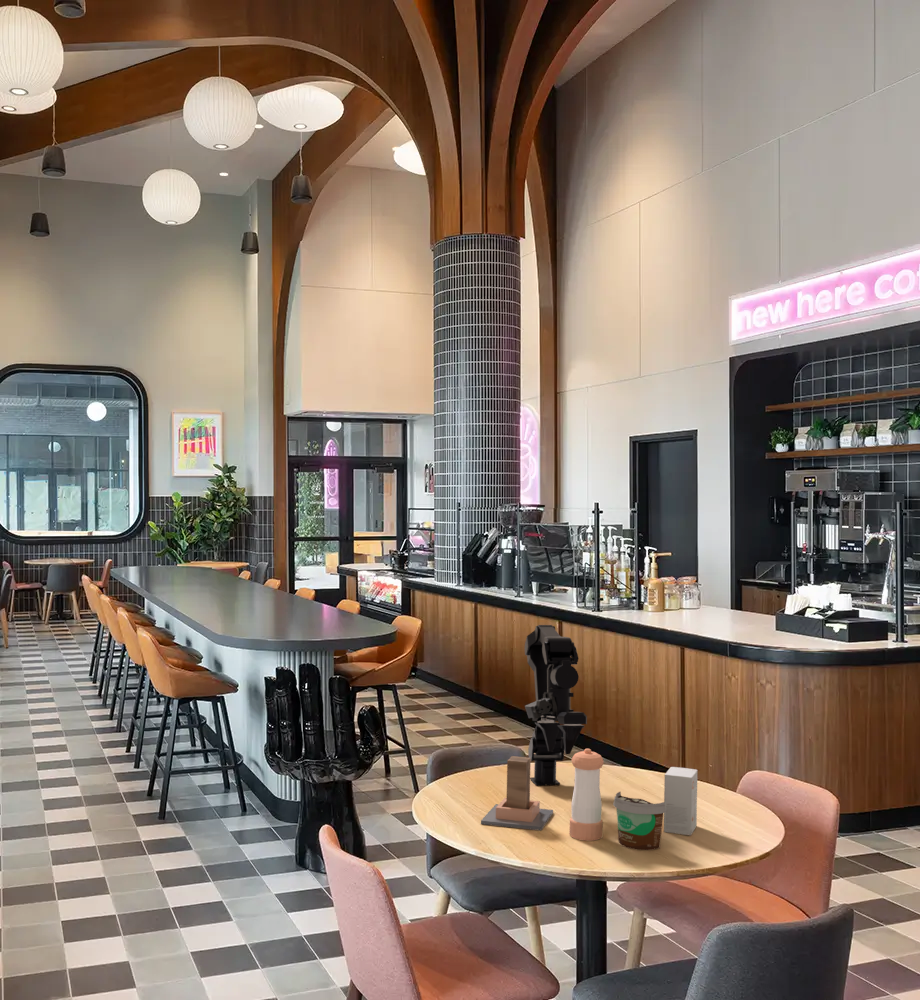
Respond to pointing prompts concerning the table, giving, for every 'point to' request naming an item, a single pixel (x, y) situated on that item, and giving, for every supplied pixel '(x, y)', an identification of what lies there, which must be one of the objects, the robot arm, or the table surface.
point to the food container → (639, 822)
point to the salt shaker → (586, 797)
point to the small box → (680, 800)
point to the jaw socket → (518, 816)
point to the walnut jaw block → (518, 782)
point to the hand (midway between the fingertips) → (559, 752)
